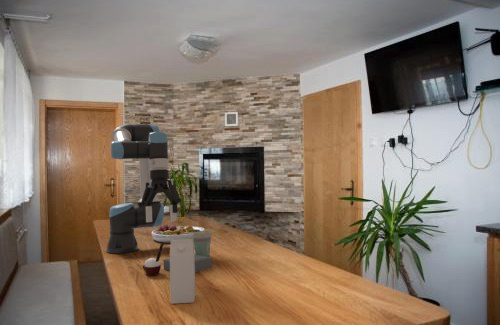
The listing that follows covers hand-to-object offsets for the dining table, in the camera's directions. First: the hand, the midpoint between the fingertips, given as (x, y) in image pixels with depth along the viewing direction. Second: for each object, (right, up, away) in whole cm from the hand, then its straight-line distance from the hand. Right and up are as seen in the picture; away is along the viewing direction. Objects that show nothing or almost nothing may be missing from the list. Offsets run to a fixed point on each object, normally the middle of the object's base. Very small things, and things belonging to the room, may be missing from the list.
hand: (161, 221), depth 156 cm
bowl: (-5, -20, +66) cm, 70 cm away
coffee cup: (+15, -20, +17) cm, 30 cm away
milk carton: (+15, -20, -35) cm, 42 cm away
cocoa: (-2, -20, -6) cm, 21 cm away
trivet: (+11, -19, +2) cm, 22 cm away
